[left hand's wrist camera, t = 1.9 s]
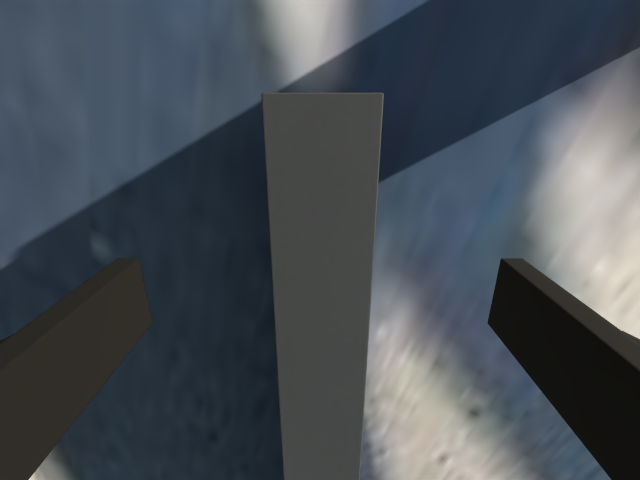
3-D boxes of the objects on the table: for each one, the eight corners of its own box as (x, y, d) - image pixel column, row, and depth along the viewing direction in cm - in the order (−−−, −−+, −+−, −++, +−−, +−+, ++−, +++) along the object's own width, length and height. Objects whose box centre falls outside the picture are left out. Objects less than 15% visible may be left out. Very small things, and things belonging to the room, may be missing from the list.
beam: (282, 98, 22) (261, 92, 14) (361, 98, 22) (384, 92, 14) (301, 598, 44) (296, 706, 36) (340, 598, 44) (345, 706, 36)
